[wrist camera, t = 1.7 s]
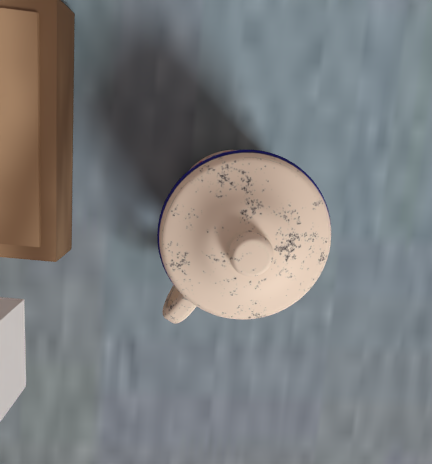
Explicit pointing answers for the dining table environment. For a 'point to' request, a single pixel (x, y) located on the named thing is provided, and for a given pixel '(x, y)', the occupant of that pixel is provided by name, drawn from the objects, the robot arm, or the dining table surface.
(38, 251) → the walnut base
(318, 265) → the teacup with lid
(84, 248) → the dining table surface
